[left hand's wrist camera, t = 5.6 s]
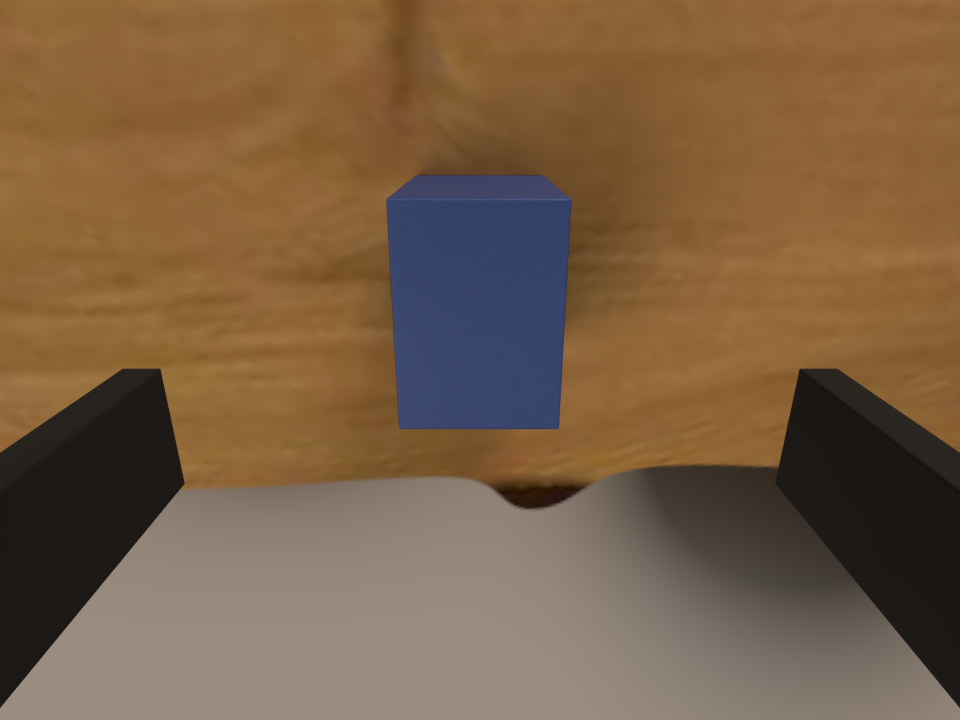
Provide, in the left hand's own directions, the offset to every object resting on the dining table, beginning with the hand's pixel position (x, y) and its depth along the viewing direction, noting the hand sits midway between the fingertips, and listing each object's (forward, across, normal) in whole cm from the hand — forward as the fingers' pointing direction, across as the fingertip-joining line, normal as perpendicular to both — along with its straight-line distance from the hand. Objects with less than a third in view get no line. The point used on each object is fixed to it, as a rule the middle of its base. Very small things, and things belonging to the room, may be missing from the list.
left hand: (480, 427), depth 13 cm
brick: (+16, 0, 0) cm, 16 cm away
